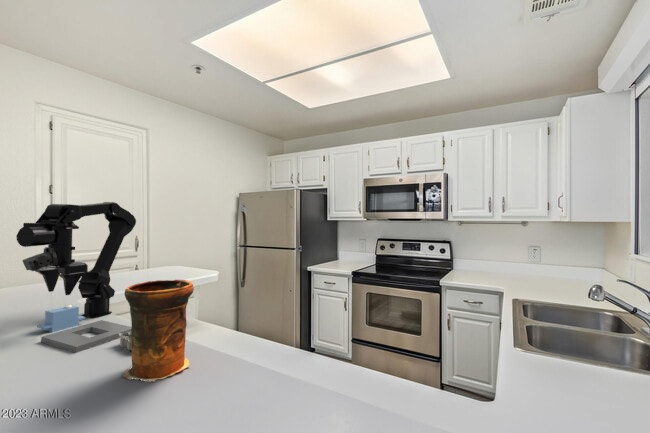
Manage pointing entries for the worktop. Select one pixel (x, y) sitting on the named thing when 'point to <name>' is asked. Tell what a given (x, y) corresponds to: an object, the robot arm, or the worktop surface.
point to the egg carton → (125, 340)
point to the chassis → (77, 342)
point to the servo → (61, 318)
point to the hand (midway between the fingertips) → (59, 293)
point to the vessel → (158, 328)
